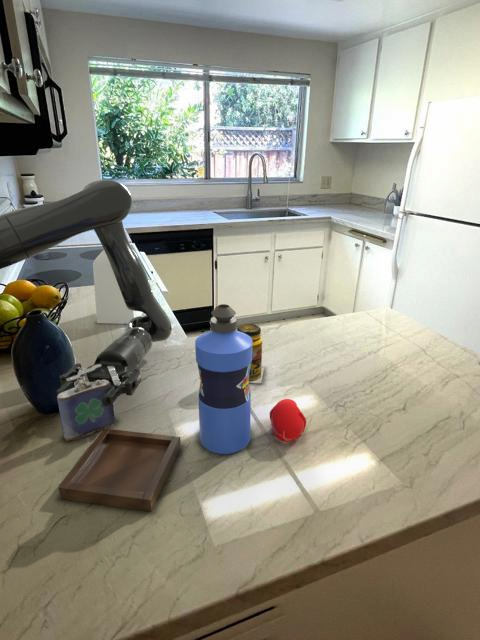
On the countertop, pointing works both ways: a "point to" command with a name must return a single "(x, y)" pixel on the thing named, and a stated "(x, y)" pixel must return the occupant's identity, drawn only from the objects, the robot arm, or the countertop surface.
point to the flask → (85, 409)
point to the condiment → (254, 351)
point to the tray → (122, 470)
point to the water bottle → (224, 383)
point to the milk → (109, 294)
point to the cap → (287, 420)
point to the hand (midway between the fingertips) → (81, 399)
